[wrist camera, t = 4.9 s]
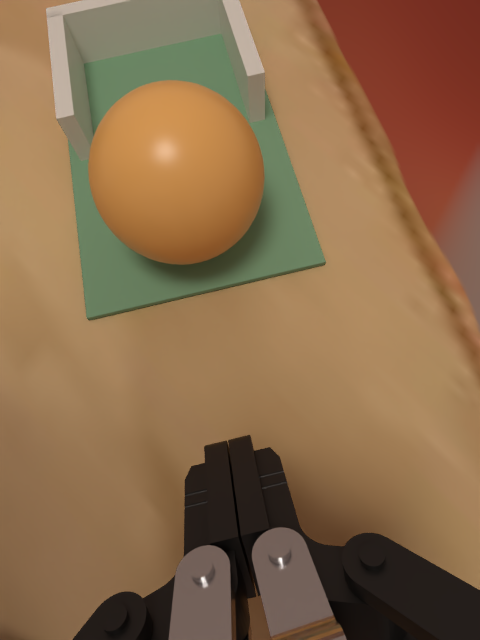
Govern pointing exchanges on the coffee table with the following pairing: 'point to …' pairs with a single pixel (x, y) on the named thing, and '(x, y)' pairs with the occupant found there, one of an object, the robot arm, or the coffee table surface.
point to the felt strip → (238, 261)
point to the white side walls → (141, 49)
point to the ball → (176, 172)
